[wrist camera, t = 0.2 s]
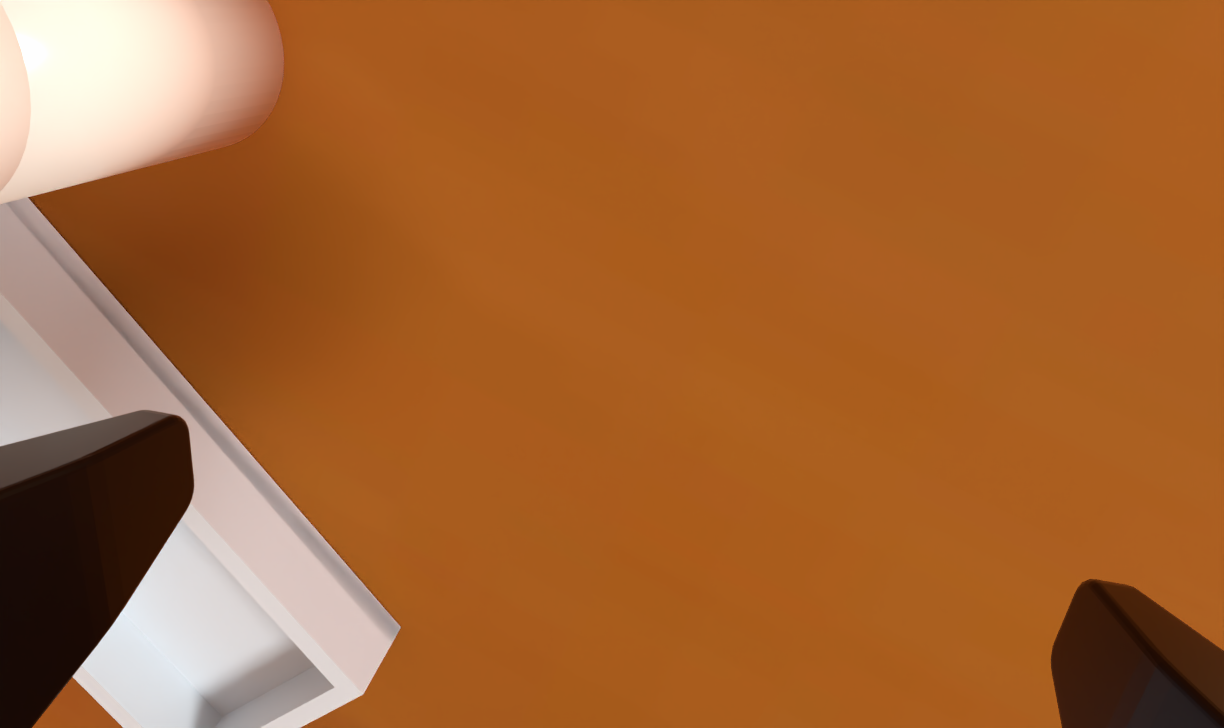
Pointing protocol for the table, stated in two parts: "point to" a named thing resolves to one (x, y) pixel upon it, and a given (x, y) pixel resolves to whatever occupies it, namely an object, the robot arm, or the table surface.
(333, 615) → the white compartment tray
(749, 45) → the table surface
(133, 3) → the cream tall rounded piece
